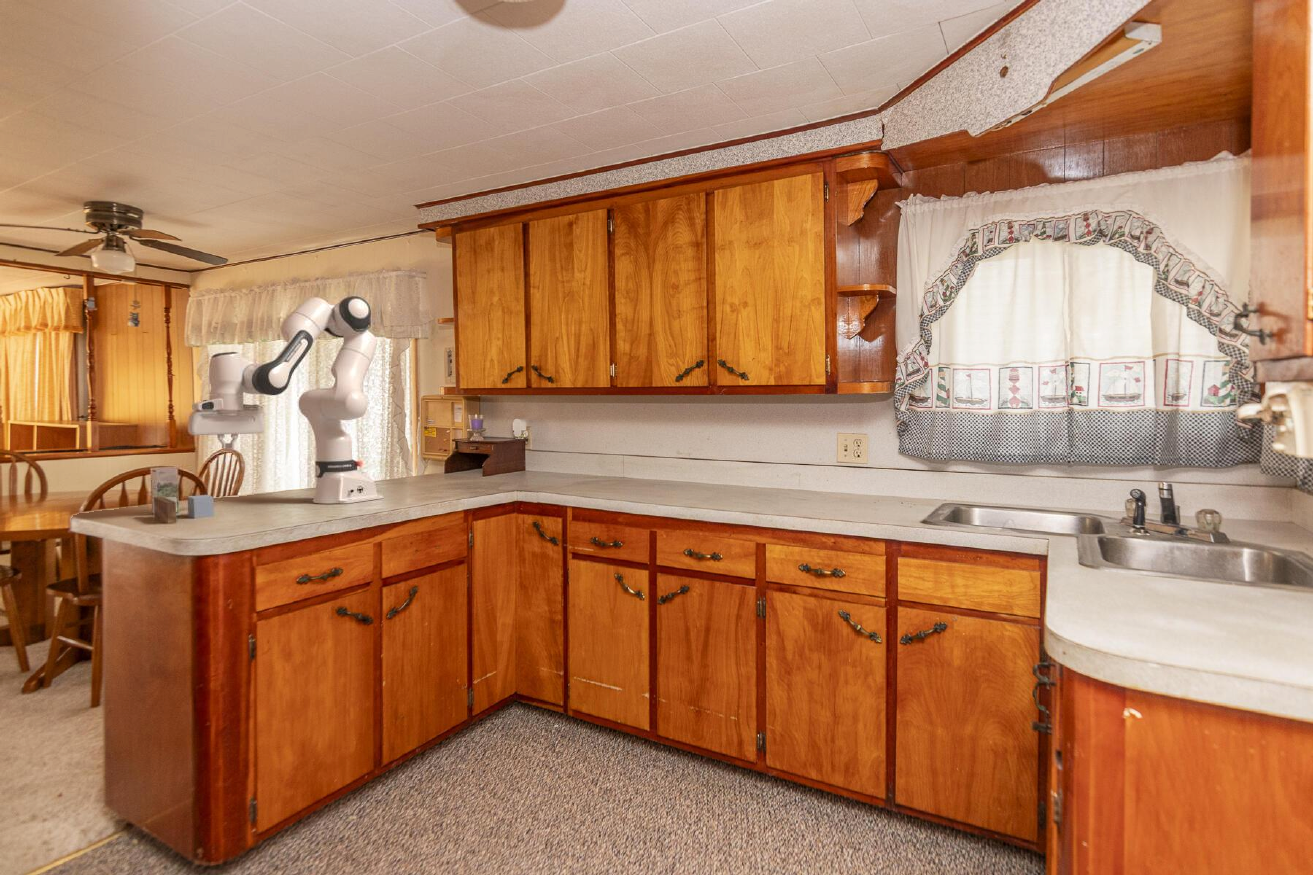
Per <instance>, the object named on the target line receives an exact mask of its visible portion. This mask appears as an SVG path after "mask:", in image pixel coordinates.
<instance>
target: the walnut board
mask: <svg viewBox="0 0 1313 875" xmlns="http://www.w3.org/2000/svg"><path fill="white" fill-rule="evenodd" d="M154 510H155V514H154V518H156V519H157V520H160V521H162V522H164V523H166V524H169V525H170V524H176V523H177V521H178V520H177V513H176V502H174V501H172V500H169V499H167V498H164V497H154Z"/></svg>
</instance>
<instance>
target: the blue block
mask: <svg viewBox="0 0 1313 875" xmlns="http://www.w3.org/2000/svg"><path fill="white" fill-rule="evenodd" d="M214 507H215V506H214V496H212V495H209V494H201V495H190V496H189V495H188V496H187V516H188V517H190V518H193V519H202V518H210V517H212V518H213V517H215V510H214Z"/></svg>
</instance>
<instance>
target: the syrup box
mask: <svg viewBox="0 0 1313 875" xmlns="http://www.w3.org/2000/svg"><path fill="white" fill-rule="evenodd" d="M150 487H151V488H150V489H151V491H150V493H151V494H150V495H151V513H152V514H153V515H155V510H154V497H164V498H167V499H169V500H172V501H174V502H176V514H178V513H180V502H179V500H180V499H179V498H180V496H179V469H178V467H177V466H175V465H168V466H167V465H166V466H154V467H150Z"/></svg>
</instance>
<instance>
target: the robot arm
mask: <svg viewBox="0 0 1313 875" xmlns="http://www.w3.org/2000/svg"><path fill="white" fill-rule="evenodd" d="M371 317H372V308H371V307H370V304H369V303H368V301H366V300H365V299H364V298H363V297H360V296H355V295H354V296H352V295H351V296H348V297H345V298H343V299H342V300H340V301H339V302H337V303H336V304H333V305H332V304H329V303H328V301H326V300H324V299H323V298H321V297H316V296H315V297H310V298H308V299H307V300H305V301H303V302H302V303H301V304H300V305H298V306H297V307H296V308H295V309H294V310H292V312H290V314H289V315H288V316H287V317H285V319H284V321H283V322H282V324H281V326H280V334H281V337H282V338H283V339H284V341H285V342H286V345H285V346H284V347H283V349H281V351H280V352H279V354H278V355H277V356H276V357H275V358H274V360H272V361H268V362H265V363H256V362H252V361H250V360H249V359H247V358H245V357H243V356H242V355H241V354H240V353H239V352H236V351H228V352H218V353H215V354H212V356H211V357H210V360H209V365H208V381H209V384H210V391H209V399H203V400H201V401H197V402H193V403H192V404H191V409H192V410H193V411H191V412H190V414H189V416H188V422H187V432H188V433H189V435H191V436H209V435H210V436H211V435H212V436H215V435H217V437H216V438H217V440H218V441H219V442H220V444H221V450H234V449H235V443H236V442H237V440H238V438H239V435H250V434H253V435H254V434H255V435H256V434H263V433H264V432H265V430H266V428H265V421H264V416H265V409H264V407H263V406H261V405H259V404H256V403H255V404H244V393H245V394H248V395H266V396H277V395H281V394H282V393H284V392H285V391H286V390H287V389H288V387H289V385H290V382H291V380H292V376H293V374H294V372H295V371H296V369H297V367H299V365H300V364H301V362H302V361H303V360H304V358H305V357H306V356H307V354H308V353H309V351H310V349H311V348H312V346H313V344H314V342H315V341H316V340H317V339H318V338H319V336H321V335H322V333H323V332H326V333H327V334H329V335H330V336H332V337H335V338H343V342H342V345H341V347H340V349H339V351H338V353H337V354H336V356H335V358H334V361H333V363H332V364H331V368H330V372H331V375H332V376H333V378H334V379H335V380H334V384H333V385H332V386H331V387H329V388H328V387H327V388H324V387H323V388H313V389H310V390H306V391H305V392H303V393H302V394H301V395H300V397H299V399H298V410H299V411H300V413H301V414H302V415H303V416H304V417H305V418H306V419H307V421H308V423H309V424H310V426H311V429H312V431H313V435H314V438H315V448H316V449H315V450H316V461H315V466H314V467H315V468H314V471H315V477H316V484H315V491H314V495H313V500H312V503H314V504H345V505H346V504H352V503H353V504H354V503H359V502H367V501H371V500H379V499H380V500H381V499H384V495H383V493H379V492H377V486H376V483H375V481H374V480H373V479H372V478H371V477H369V476H367V475H366V474H364V473H363V472H361V471H360V470H359V469H358V467H362V466H363V465H364V463H363V461H361V460H355V459H353V450H352V449H353V446H352V445H353V444H352V436H350V434H348V433H347V432H346V431H345V429H344V428H343V426H342V423H341V421H351V420H356V419H359V418H361V417H363V416H364V415H365V414H366V412H367V409H368V406H369V405H368V399H367V397H366V395H365V394H364V392H363V384H364V381H365V378H366V376H367V373H368V371H369V368H370V366H371V364H372V361H373V359H374V356H375V354H376V353H375V352H376V348H377V345H378V341H377V338H376V336H375V335H374V334H373V333H372V332H370V331H369V330H368V329H370V328H371V327H372V319H371ZM226 435H230V438H232V439H231V441H230V442H225V436H226Z"/></svg>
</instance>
